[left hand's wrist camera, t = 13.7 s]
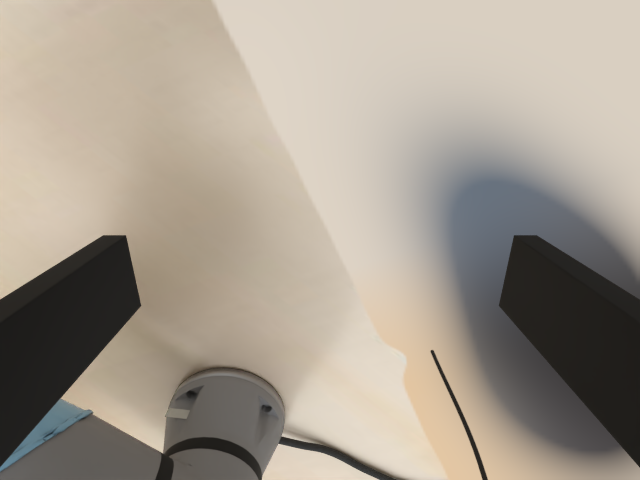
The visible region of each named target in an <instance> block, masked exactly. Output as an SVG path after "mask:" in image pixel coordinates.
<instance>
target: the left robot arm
mask: <svg viewBox="0 0 640 480" xmlns="http://www.w3.org/2000/svg"><path fill="white" fill-rule="evenodd" d="M140 306H141V303H140V299H139V294H138V289H137V285H136V280H135V275H134V271H133V266H132V261H131V257H130V252H129V248H128V243H127V238H126V235H103V236H102V237H100V238H98V239H97V240H95V241H94V242H92V243H90V244H89V245H87V246H86V247H84V248H82V249H81V250H79V251H78V252H76V253H74V254H73V255H71V256H70V257H68V258H66V259H65V260H63V261H61V262H60V263H58V264H57V265H55V266H53V267H52V268H50V269H49V270H47V271H45V272H44V273H42V274H41V275H39V276H37V277H36V278H34V279H33V280H31V281H29V282H28V283H26V284H25V285H23V286H21V287H20V288H18V289H17V290H15V291H13V292H12V293H10V294H9V295H7V296H5V297H4V298H2V299H0V480H262V475H263V473H264V471H265V469H266V467H267V465H268V463H269V461H270V459H271V457H272V455H273V453H274V451H275V449H276V447H277V445H278V444H282V445H287V446H291V447H295V448H300V449H305V450H311V451H317V452H321V453H325V454H327V455H330V456H333V457H335V458H337V459H339V460H341V461H343V462H345V463H347V464H349V465H350V466H352V467H354V468H356V469H358V470H360V471H362V472H364V473H366V474H368V475H371V476H373V477H375V478H377V479H379V480H396V479H394V478H391V477H389V476H387V475H385V474H382V473H380V472H378V471H376V470H374V469H372V468H370V467H367V466H365V465H363V464H361V463H359V462H357V461H356V460H354V459H352V458H350V457H348V456H347V455H345V454H343V453H341V452H339V451H336V450H334V449H332V448H329V447H326V446H323V445H319V444H314V443H308V442H303V441H298V440H294V439H290V438H285V437H281V435H282V432H283V428H284V420H285V410H284V405H283V402H282V400H281V398H280V396H279V395H278V393H277V392H276V391H275V389H274V388H273V387H272V386H271V385H269V384H268V383H267V382H266V381H264V380H263V379H261V378H260V377H258V376H256V375H254V374H251V373H249V372H245V371H242V370H237V369H230V368H216V369H209V370H205V371H202V372H199V373H196V374H194V375H192V376H191V377H189V378H188V379H186V380H185V381H184V382H183V383H182V384H181V385H180V386H179V387H178V389H177V390H176V392H175V394H174V396H173V398H172V400H171V402H170V405H169V408H168V411H167V413H166V415H165V417H167V418H166V429H165V439H164V450H163V453H161V452H159V451H157V450H156V449H154V448H152V447H150V446H148V445H146V444H145V443H143V442H141V441H139V440H137V439H136V438H134V437H132V436H130V435H129V434H127V433H125V432H123V431H121V430H120V429H118V428H116V427H114V426H112V425H111V424H109V423H107V422H105V421H103V420H102V419H100V418H98V417H96V416H94V415H93V411H91V410H83V409H81V408H79V407H77V406H75V405H73V404H71V403H69V402H66V401H64V400H62V399H60V398H61V397H62V396H63V395H64V394H65V392H66V391H67V390H68V389H69V388H70V387H71V386H72V384H73V383H74V382H75V381H76V380H77V379H78V378H79V376H80V375H81V374H82V373H83V372H84V371H85V369H86V368H87V367H88V366H89V365H90V364H91V363H92V361H93V360H94V359H95V358H96V357H97V356H98V355H99V353H100V352H101V351H102V350H103V349H104V348H105V347H106V345H107V344H108V343H109V342H110V341H111V340H112V339H113V337H114V336H115V335H116V334H117V333H118V332H119V330H120V329H121V328H122V327H123V326H124V325H125V324H126V322H127V321H128V320H129V319H130V318H131V317H132V316H133V314H134V313H135V312H136V311H137V310H138V309H139V308H140ZM499 306H500V308H501V309H502V310H503V311H504V312H505V313H506V314H507V316H508V317H509V318H510V319H511V320H512V321H513V322H514V324H515V325H516V326H517V327H518V328H519V329H520V330H521V332H522V333H523V334H524V335H525V336H526V337H527V339H528V340H529V341H530V342H531V343H532V344H533V345H534V347H535V348H536V349H537V350H538V351H539V352H540V353H541V355H542V356H543V357H544V358H545V359H546V360H547V361H548V363H549V364H550V365H551V366H552V367H553V368H554V369H555V371H556V372H557V373H558V374H559V375H560V376H561V377H562V379H563V380H564V381H565V382H566V383H567V384H568V386H569V387H570V388H571V389H572V390H573V391H574V392H575V394H576V395H577V396H578V397H579V398H580V399H581V400H582V402H583V403H584V404H585V405H586V406H587V407H588V408H589V410H590V411H591V412H592V413H593V414H594V415H595V416H596V418H597V419H598V420H599V421H600V422H601V423H602V425H603V426H604V427H605V428H606V429H607V430H608V431H609V433H610V434H611V435H612V436H613V437H614V438H615V439H616V441H617V442H618V443H619V444H620V445H621V446H622V448H623V449H624V450H625V451H626V452H627V453H628V454H629V456H630V457H631V458H632V459H633V460H634V461H635V462H636V464H637V465H638V466H639V467H640V300H639V299H638V298H636V297H635V296H633V295H631V294H630V293H628V292H627V291H625V290H623V289H622V288H620V287H619V286H617V285H615V284H614V283H612V282H611V281H609V280H607V279H606V278H604V277H603V276H601V275H599V274H598V273H596V272H594V271H593V270H591V269H590V268H588V267H586V266H585V265H583V264H582V263H580V262H578V261H577V260H575V259H574V258H572V257H570V256H569V255H567V254H566V253H564V252H562V251H561V250H559V249H558V248H556V247H554V246H553V245H551V244H550V243H548V242H546V241H545V240H543V239H542V238H540V237H538V236H536V235H515V236H514V238H513V243H512V247H511V252H510V257H509V262H508V266H507V271H506V275H505V280H504V285H503V289H502V294H501V299H500V303H499ZM431 354H432V357H433V359H434V361H435V364H436V366H437V368H438V370H439V373H440V375H441V377H442V379H443V381H444V384H445V386H446V388H447V390H448V392H449V394H450V397H451V399H452V401H453V403H454V405H455V408H456V410H457V412H458V414H459V416H460V419H461V421H462V424H463V426H464V428H465V431H466V433H467V436H468V438H469V441H470V444H471V446H472V449H473V452H474V455H475V458H476V460H477V464H478V467H479V470H480V473H481V477H482V480H488V478H487V475H486V472H485V469H484V466H483V463H482V460H481V457H480V454H479V451H478V449H477V446H476V443H475V441H474V438H473V436H472V433H471V431H470V429H469V426H468V424H467V422H466V419H465V417H464V415H463V413H462V410H461V408H460V406H459V404H458V402H457V400H456V398H455V395H454V393H453V391H452V389H451V387H450V385H449V383H448V381H447V379H446V377H445V374H444V372H443V370H442V368H441V366H440V364H439V361H438V359H437V357H436V355H435V352H434V350H431Z"/></svg>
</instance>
